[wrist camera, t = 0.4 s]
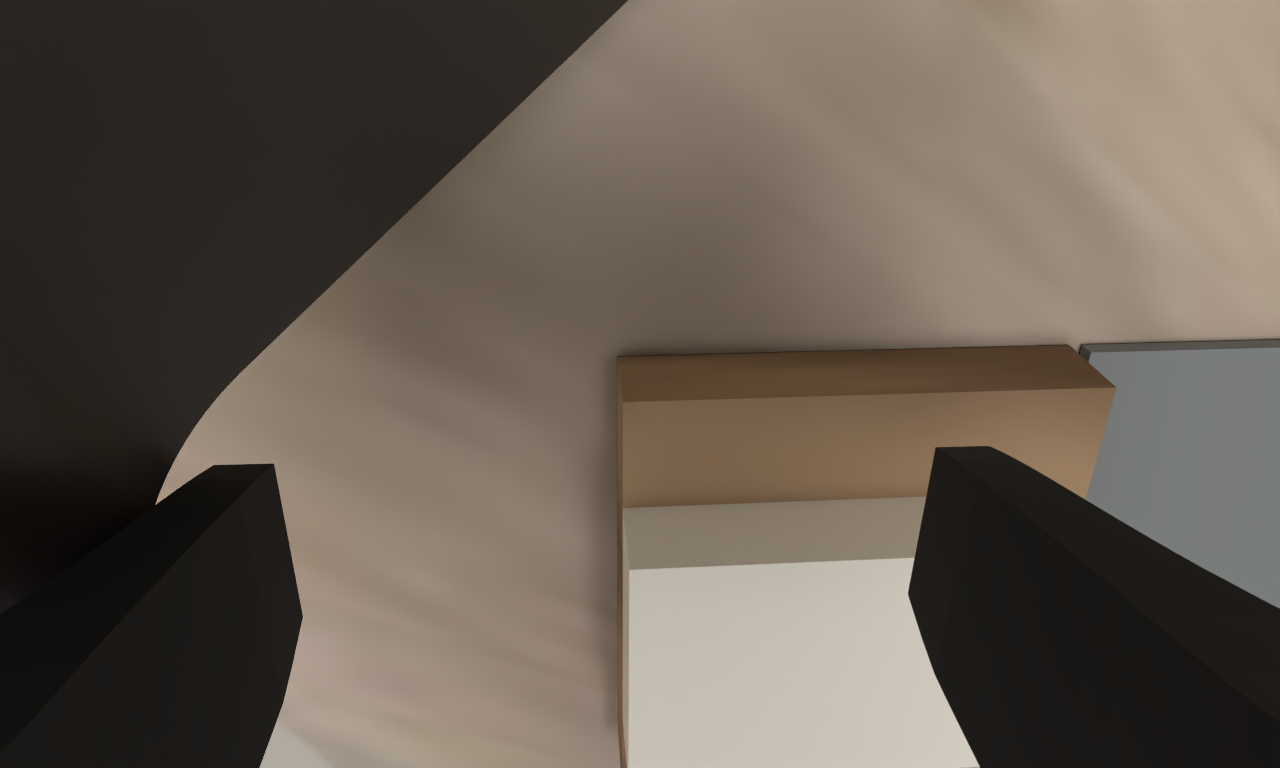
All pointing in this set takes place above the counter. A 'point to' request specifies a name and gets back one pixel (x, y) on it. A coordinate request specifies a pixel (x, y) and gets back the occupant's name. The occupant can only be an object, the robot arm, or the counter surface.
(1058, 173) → the counter surface
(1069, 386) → the brown block
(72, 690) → the robot arm
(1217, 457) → the mat
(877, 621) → the cream rectangular tile
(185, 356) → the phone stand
